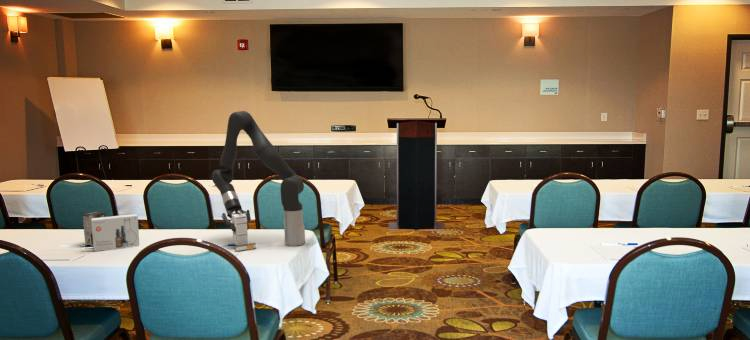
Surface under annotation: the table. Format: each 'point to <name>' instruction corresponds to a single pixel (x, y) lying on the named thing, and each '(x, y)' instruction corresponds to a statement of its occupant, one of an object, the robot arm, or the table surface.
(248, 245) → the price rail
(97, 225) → the skincare box
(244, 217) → the syrup box
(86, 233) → the coffee box
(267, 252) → the table surface
